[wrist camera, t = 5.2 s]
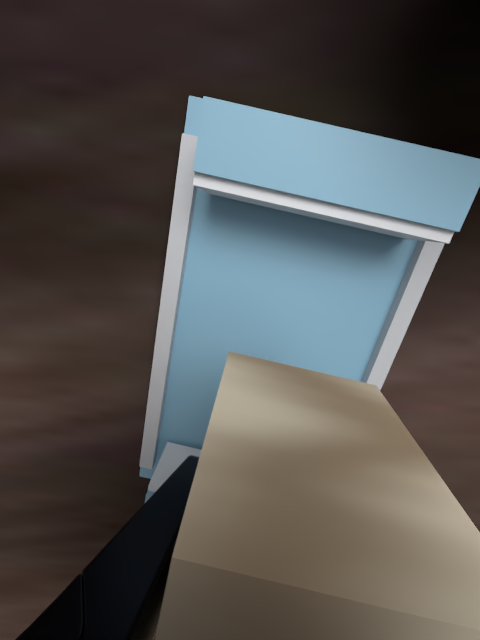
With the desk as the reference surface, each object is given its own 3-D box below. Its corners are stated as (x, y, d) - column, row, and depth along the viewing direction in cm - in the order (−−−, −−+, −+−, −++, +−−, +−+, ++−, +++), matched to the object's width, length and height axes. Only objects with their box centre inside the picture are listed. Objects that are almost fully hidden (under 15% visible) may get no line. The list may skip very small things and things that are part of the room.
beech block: (376, 385, 8) (561, 649, 3) (310, 539, 10) (356, 849, 5) (229, 350, 8) (172, 556, 3) (192, 511, 10) (123, 792, 5)
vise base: (466, 163, 12) (557, 135, 8) (318, 511, 19) (332, 582, 15) (192, 100, 12) (160, 45, 8) (142, 470, 19) (112, 530, 15)
